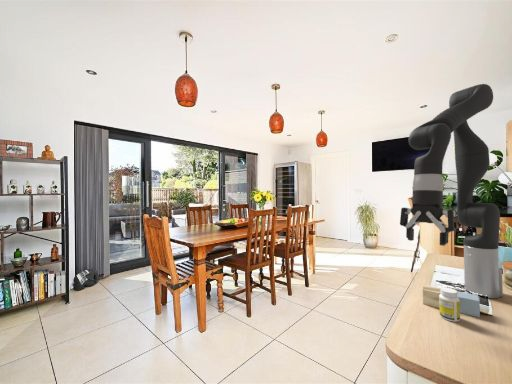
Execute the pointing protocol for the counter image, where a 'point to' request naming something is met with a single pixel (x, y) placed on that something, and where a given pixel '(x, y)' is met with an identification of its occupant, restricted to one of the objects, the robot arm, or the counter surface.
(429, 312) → the counter surface
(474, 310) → the slate cube
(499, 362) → the counter surface
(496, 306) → the counter surface
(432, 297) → the beech cube
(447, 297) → the supplement bottle
